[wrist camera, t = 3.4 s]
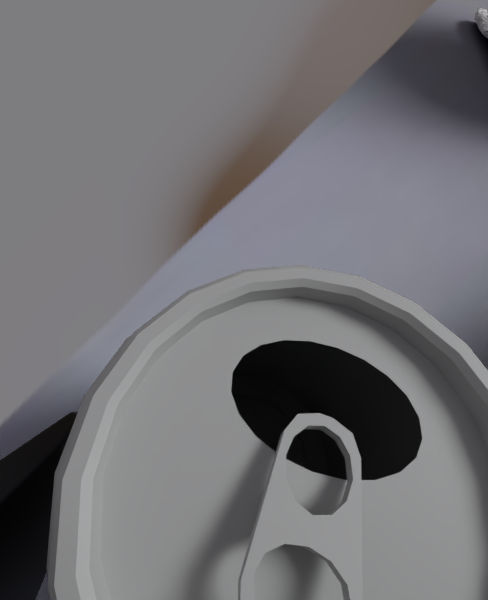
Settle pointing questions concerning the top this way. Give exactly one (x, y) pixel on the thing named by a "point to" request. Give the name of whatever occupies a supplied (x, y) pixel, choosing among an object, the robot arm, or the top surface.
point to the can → (278, 452)
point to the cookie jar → (482, 21)
